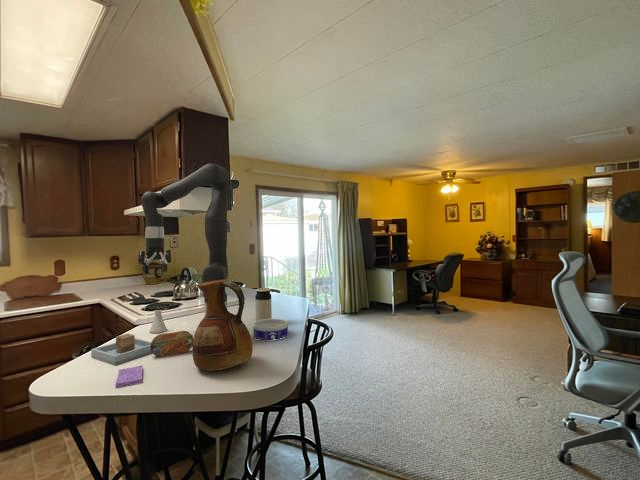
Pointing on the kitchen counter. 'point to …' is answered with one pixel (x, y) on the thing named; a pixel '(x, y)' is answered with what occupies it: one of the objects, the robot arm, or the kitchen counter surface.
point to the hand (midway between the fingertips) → (155, 273)
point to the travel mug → (263, 304)
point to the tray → (112, 357)
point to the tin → (171, 343)
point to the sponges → (129, 376)
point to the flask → (158, 323)
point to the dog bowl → (270, 329)
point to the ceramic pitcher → (221, 330)
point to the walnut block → (125, 343)
